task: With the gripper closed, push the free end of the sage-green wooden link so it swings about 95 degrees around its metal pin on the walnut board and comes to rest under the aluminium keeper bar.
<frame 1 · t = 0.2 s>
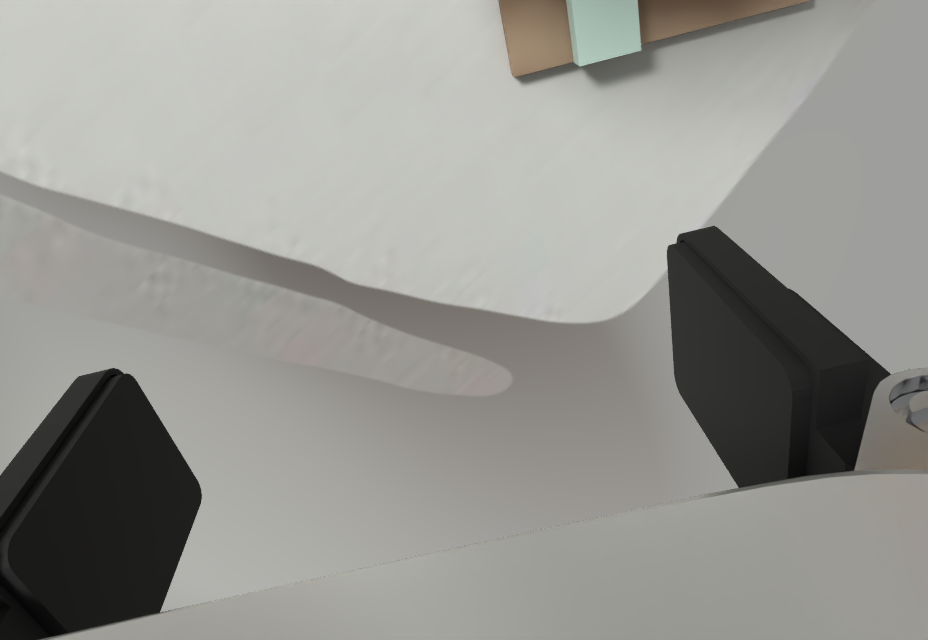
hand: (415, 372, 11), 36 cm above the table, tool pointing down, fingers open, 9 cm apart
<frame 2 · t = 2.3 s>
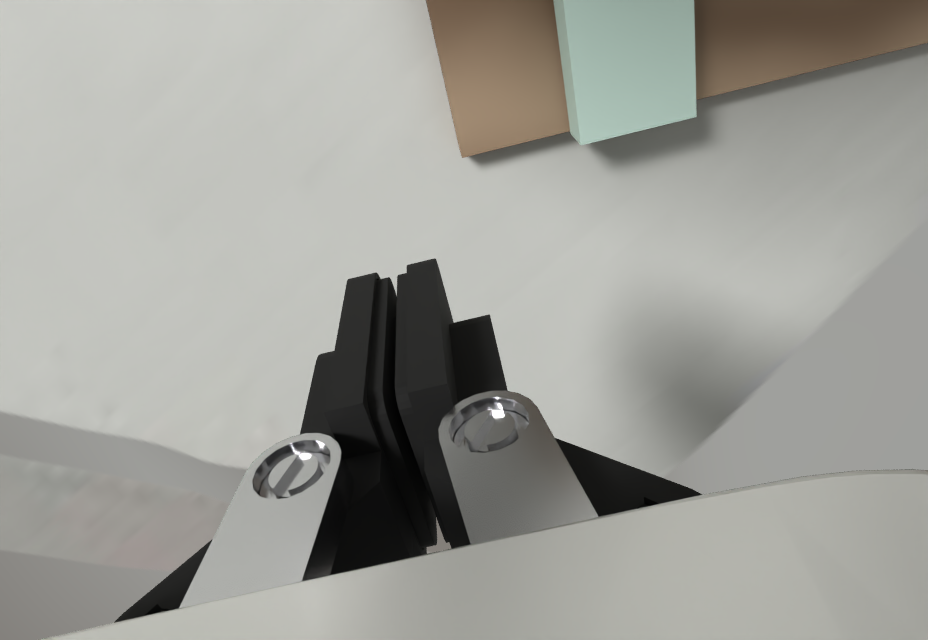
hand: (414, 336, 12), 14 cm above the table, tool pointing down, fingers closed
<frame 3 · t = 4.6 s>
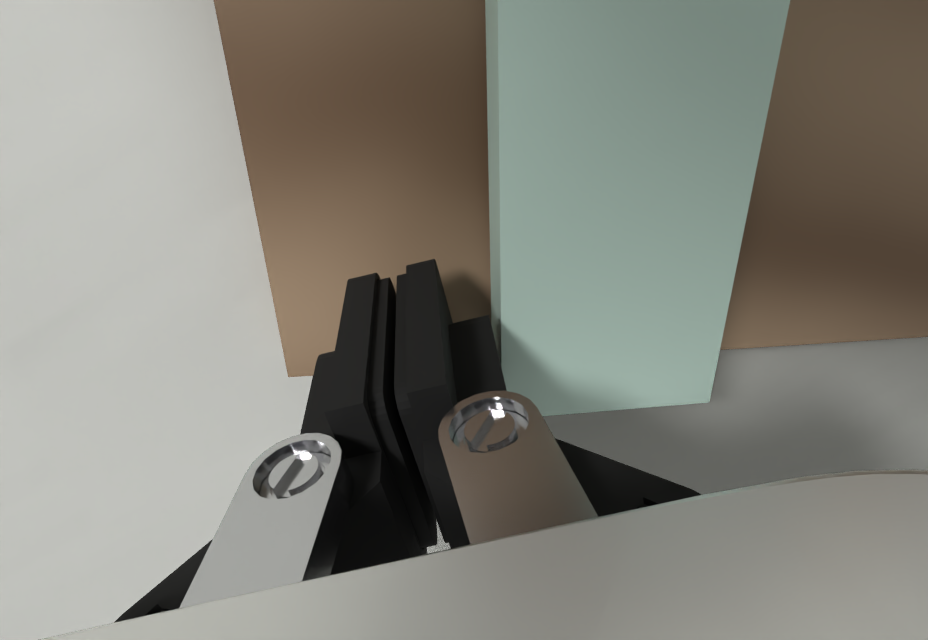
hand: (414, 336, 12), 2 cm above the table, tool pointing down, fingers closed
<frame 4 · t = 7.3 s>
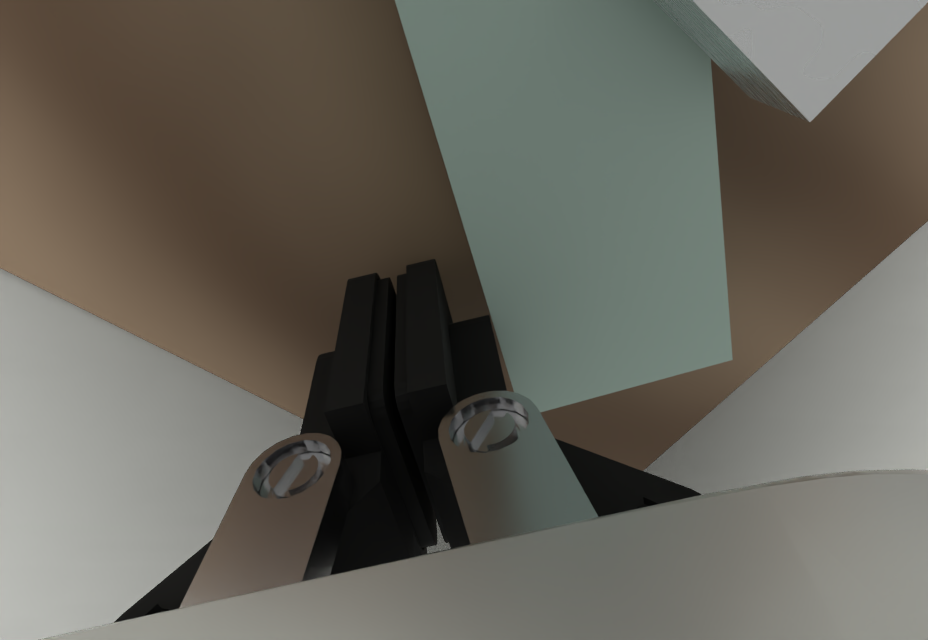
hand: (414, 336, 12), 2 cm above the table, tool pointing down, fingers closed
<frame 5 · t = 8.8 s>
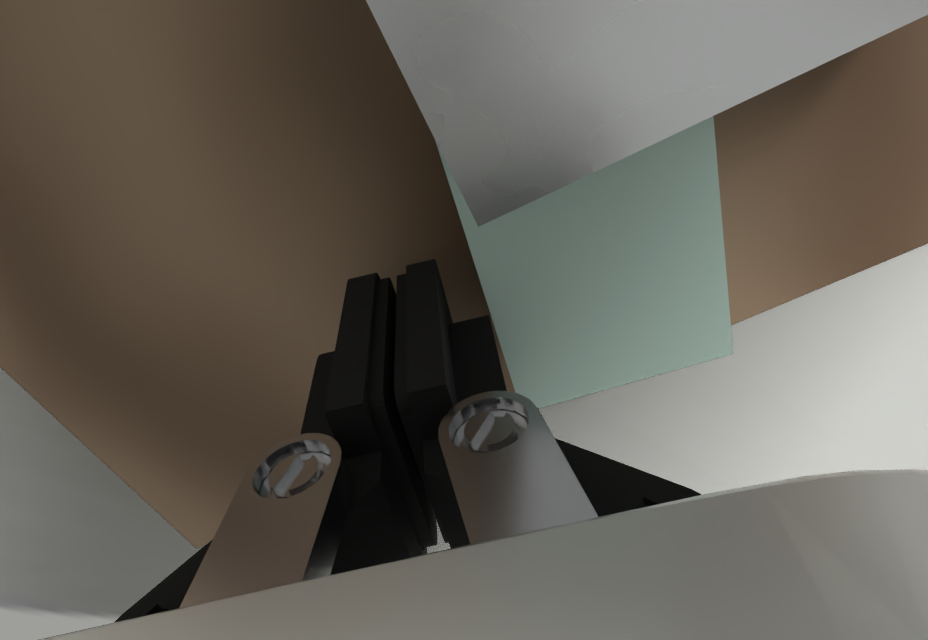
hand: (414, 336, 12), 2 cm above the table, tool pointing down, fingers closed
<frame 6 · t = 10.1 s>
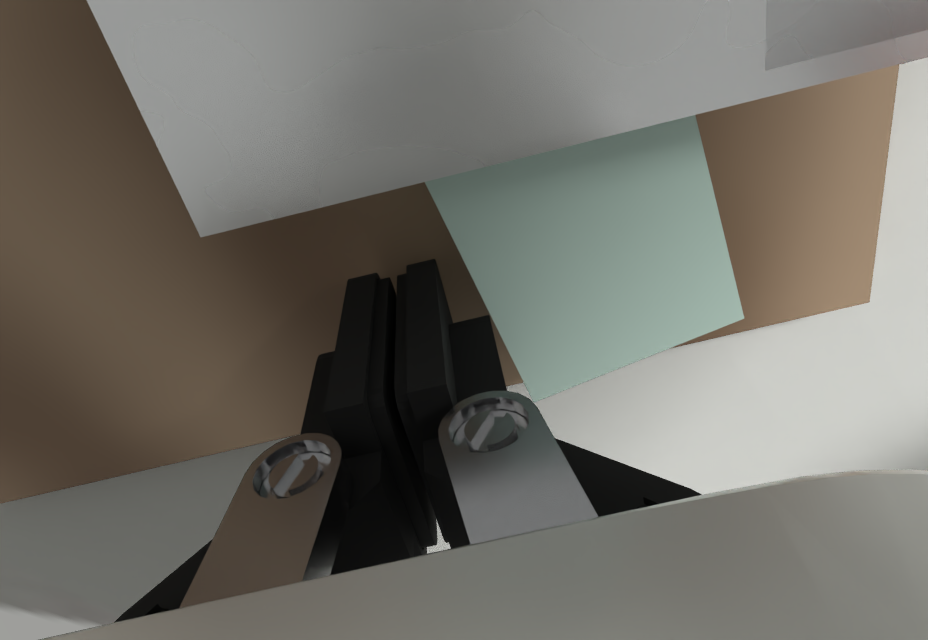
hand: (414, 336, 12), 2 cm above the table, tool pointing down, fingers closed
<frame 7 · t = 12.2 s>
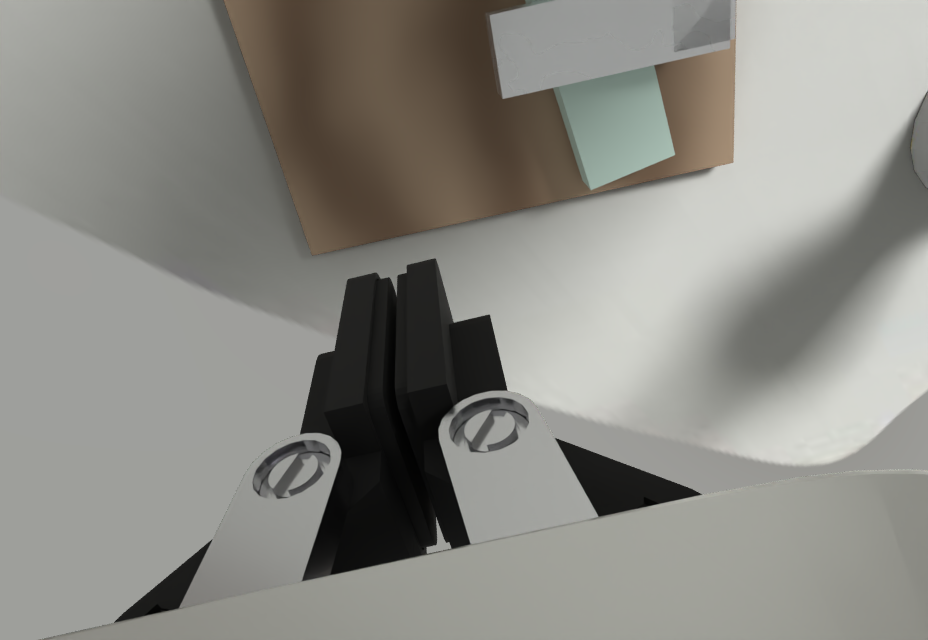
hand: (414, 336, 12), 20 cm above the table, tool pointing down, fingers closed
keeper: (581, 23, 28), resting on board
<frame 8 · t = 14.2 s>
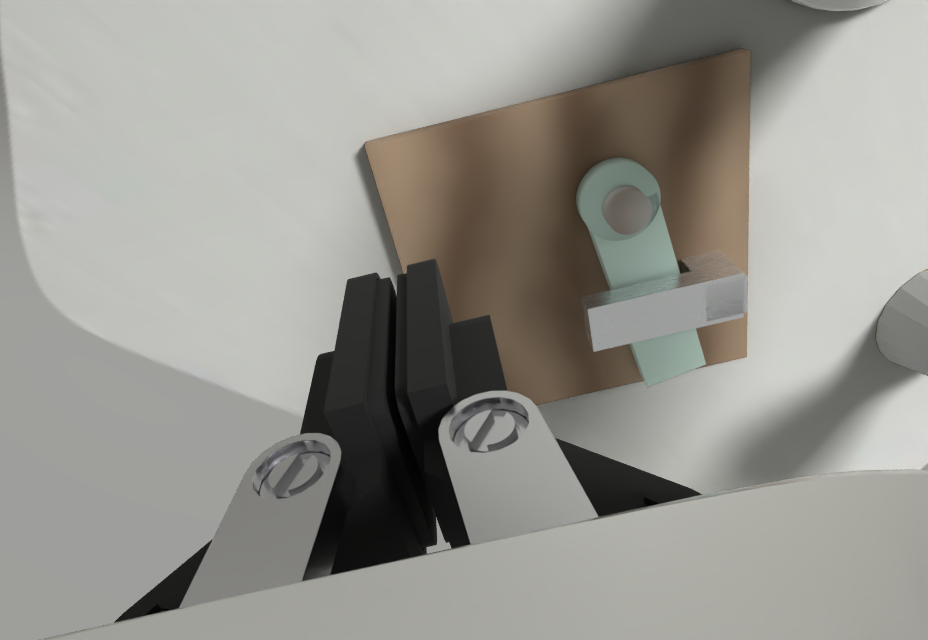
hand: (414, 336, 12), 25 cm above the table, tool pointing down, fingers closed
link: (642, 277, 38), point 2 cm above the table, hinge at 101.1°
board: (574, 257, 39), on the table
keeper: (640, 277, 40), resting on board
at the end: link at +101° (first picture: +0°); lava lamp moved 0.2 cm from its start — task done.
